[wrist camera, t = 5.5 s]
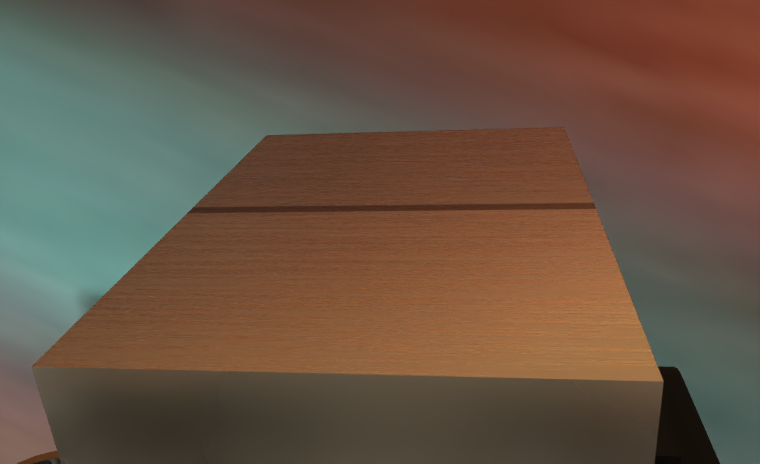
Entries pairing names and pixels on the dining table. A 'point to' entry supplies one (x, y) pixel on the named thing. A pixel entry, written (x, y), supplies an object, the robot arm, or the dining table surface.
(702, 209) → the dining table surface
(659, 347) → the dining table surface
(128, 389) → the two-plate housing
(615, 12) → the dining table surface
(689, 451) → the robot arm
